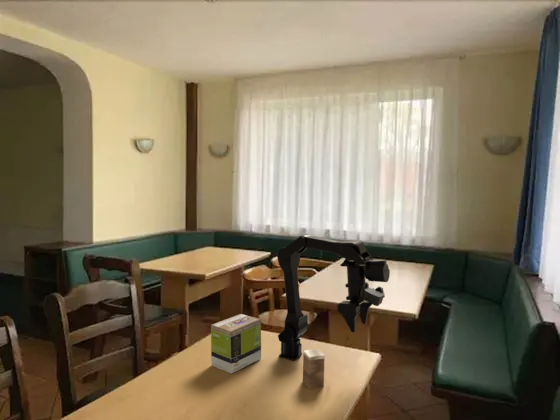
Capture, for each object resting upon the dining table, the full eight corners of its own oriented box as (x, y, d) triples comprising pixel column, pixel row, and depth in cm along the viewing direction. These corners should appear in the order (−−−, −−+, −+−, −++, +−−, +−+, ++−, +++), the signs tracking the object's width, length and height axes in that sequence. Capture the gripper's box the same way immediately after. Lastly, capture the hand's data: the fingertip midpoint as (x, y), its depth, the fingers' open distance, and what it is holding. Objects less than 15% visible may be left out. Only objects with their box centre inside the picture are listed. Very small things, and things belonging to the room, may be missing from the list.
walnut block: (308, 388, 131) (309, 357, 130) (302, 381, 136) (303, 350, 135) (323, 386, 133) (324, 355, 132) (317, 378, 137) (318, 348, 136)
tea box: (241, 351, 157) (241, 312, 156) (261, 359, 151) (262, 318, 149) (210, 365, 146) (210, 323, 144) (230, 375, 139) (231, 330, 138)
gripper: (369, 288, 126) (372, 340, 127) (390, 276, 142) (392, 322, 143) (335, 285, 132) (337, 335, 133) (358, 274, 148) (360, 318, 149)
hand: (358, 327), depth 139 cm, fingers open, 9 cm apart
